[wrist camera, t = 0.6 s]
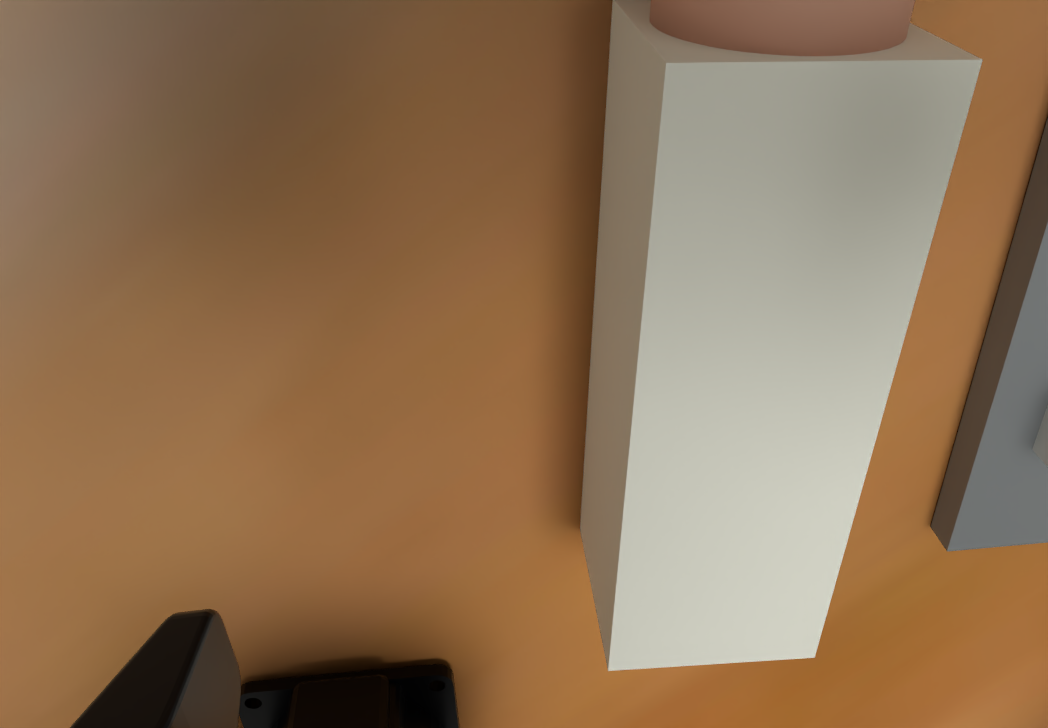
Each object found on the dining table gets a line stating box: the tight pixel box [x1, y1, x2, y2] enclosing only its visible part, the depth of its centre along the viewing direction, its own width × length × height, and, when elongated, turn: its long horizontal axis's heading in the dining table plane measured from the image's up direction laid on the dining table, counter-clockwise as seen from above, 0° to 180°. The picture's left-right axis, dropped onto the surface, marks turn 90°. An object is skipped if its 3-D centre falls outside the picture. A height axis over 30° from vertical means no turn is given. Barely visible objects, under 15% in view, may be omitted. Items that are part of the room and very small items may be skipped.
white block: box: [580, 0, 982, 671], centre depth 19 cm, size 16×5×5 cm, turn 179°
